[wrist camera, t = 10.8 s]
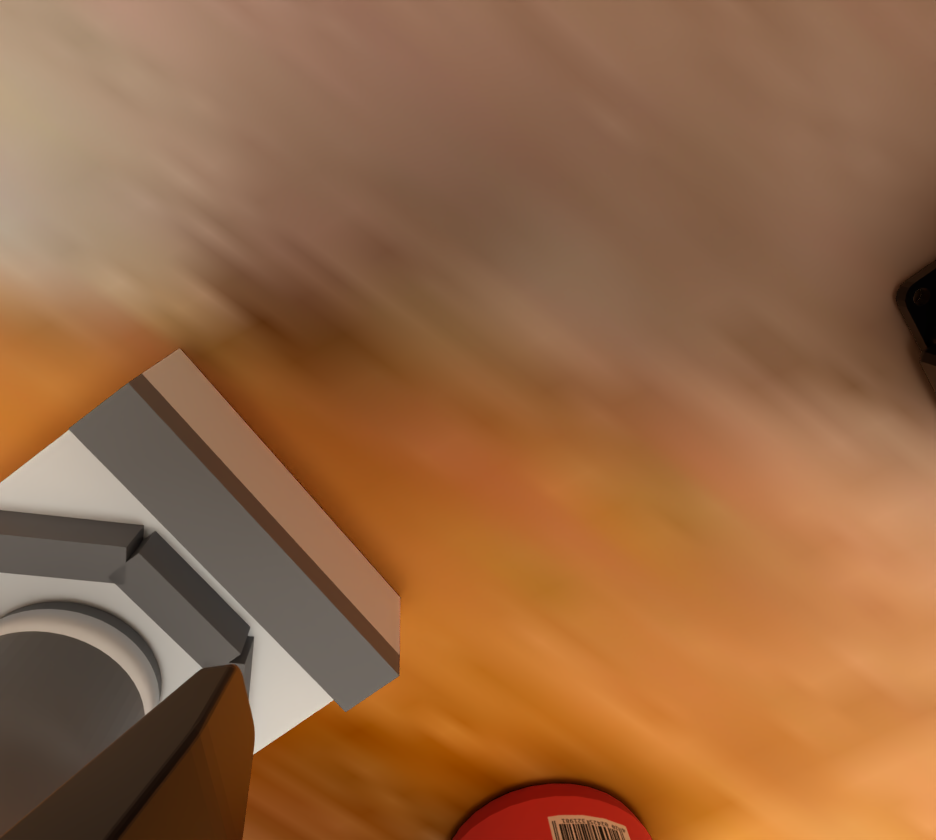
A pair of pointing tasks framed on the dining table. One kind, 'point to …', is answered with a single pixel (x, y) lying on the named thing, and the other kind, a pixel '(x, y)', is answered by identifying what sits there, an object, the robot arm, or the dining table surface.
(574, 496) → the dining table surface
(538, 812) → the canned food
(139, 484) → the square flange plate
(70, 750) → the gray tumbler
